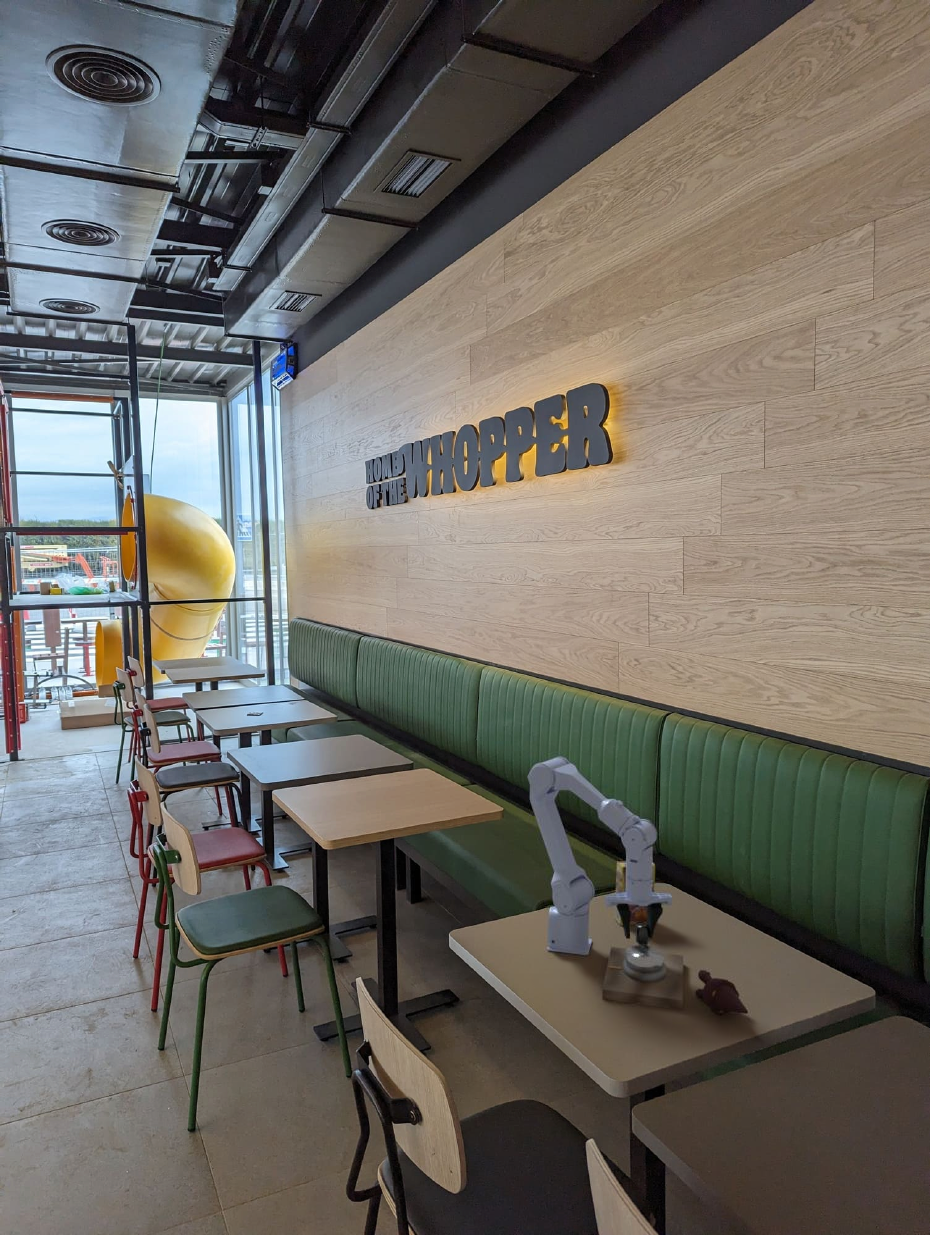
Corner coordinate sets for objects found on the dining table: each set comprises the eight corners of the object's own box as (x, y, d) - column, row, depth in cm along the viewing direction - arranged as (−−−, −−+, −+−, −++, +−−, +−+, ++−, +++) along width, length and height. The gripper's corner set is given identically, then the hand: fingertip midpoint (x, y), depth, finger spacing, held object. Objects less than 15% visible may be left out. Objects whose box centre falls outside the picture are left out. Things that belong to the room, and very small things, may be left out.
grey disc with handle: (665, 973, 174) (666, 947, 173) (627, 971, 175) (627, 945, 174) (659, 949, 185) (660, 924, 185) (623, 947, 186) (623, 922, 186)
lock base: (602, 998, 171) (602, 982, 171) (611, 955, 190) (611, 940, 190) (682, 1009, 167) (682, 993, 166) (683, 964, 186) (683, 949, 186)
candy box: (621, 927, 205) (621, 866, 204) (614, 919, 209) (615, 860, 209) (654, 923, 207) (655, 864, 206) (647, 916, 211) (648, 858, 210)
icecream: (765, 994, 160) (715, 967, 174) (734, 992, 158) (686, 963, 172) (759, 1031, 159) (709, 1000, 173) (728, 1029, 157) (680, 998, 171)
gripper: (610, 884, 179) (610, 945, 179) (676, 882, 179) (676, 943, 180) (603, 872, 186) (602, 931, 186) (667, 870, 187) (666, 929, 187)
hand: (638, 936), depth 184 cm, fingers open, 4 cm apart
